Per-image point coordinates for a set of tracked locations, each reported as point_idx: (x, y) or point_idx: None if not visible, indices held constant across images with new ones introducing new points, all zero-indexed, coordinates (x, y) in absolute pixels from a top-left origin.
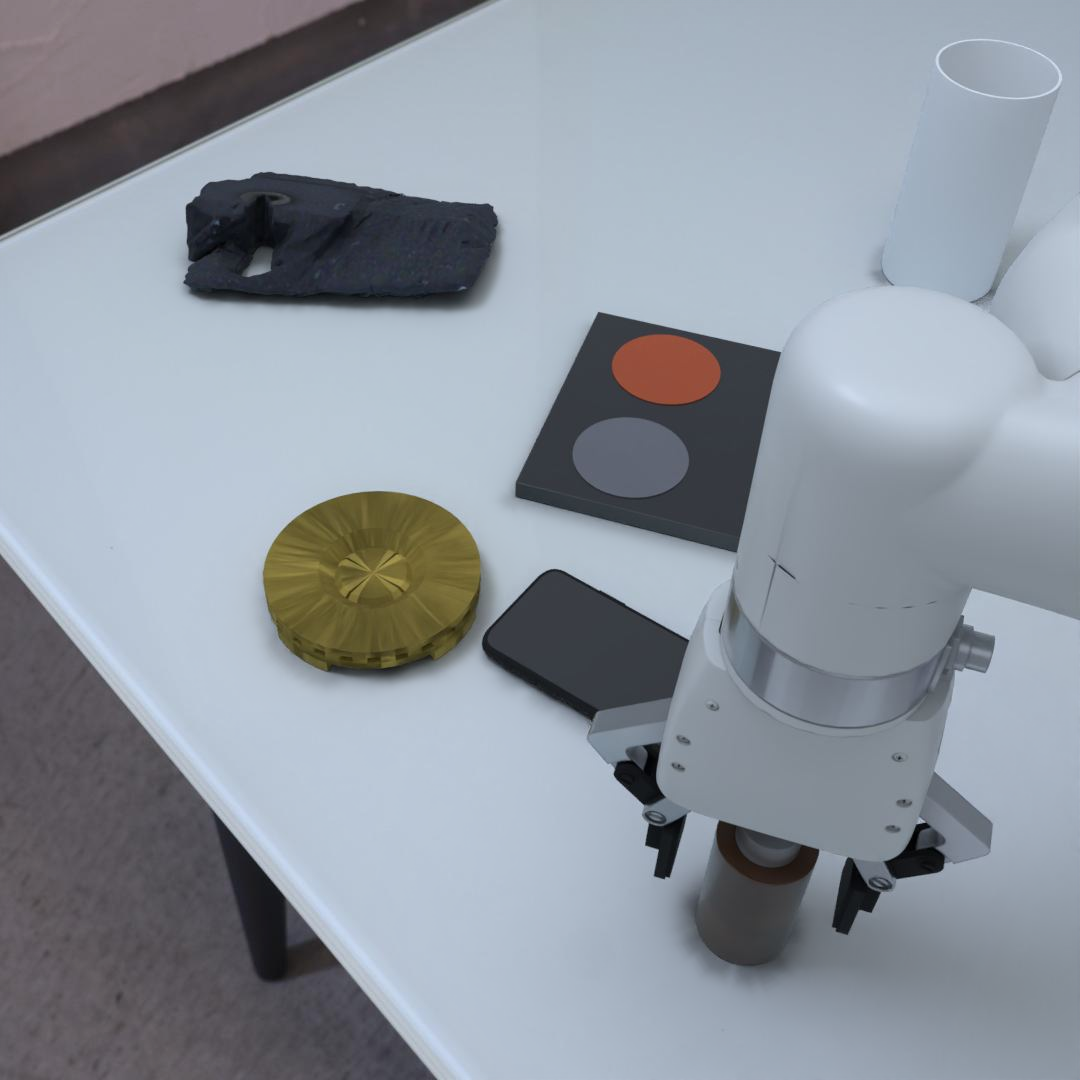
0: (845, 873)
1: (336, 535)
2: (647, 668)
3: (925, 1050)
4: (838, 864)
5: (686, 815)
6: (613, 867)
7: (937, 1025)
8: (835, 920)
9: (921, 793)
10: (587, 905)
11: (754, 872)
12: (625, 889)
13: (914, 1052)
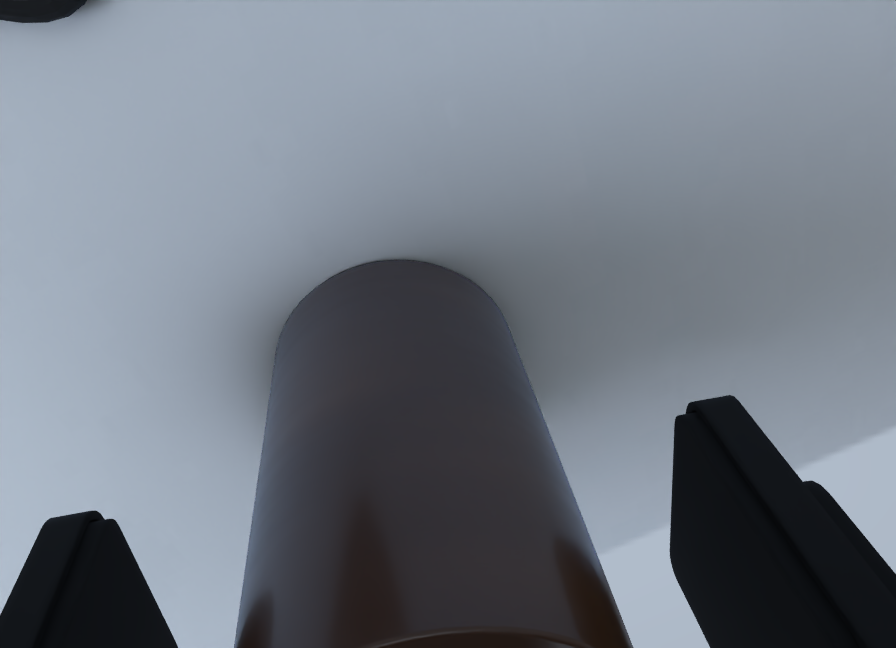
0: (725, 556)
1: None
2: None
3: (830, 423)
4: (589, 91)
5: (88, 614)
6: (27, 393)
7: (857, 370)
8: (693, 609)
9: None
10: (44, 495)
11: None
12: (95, 426)
13: (809, 436)
